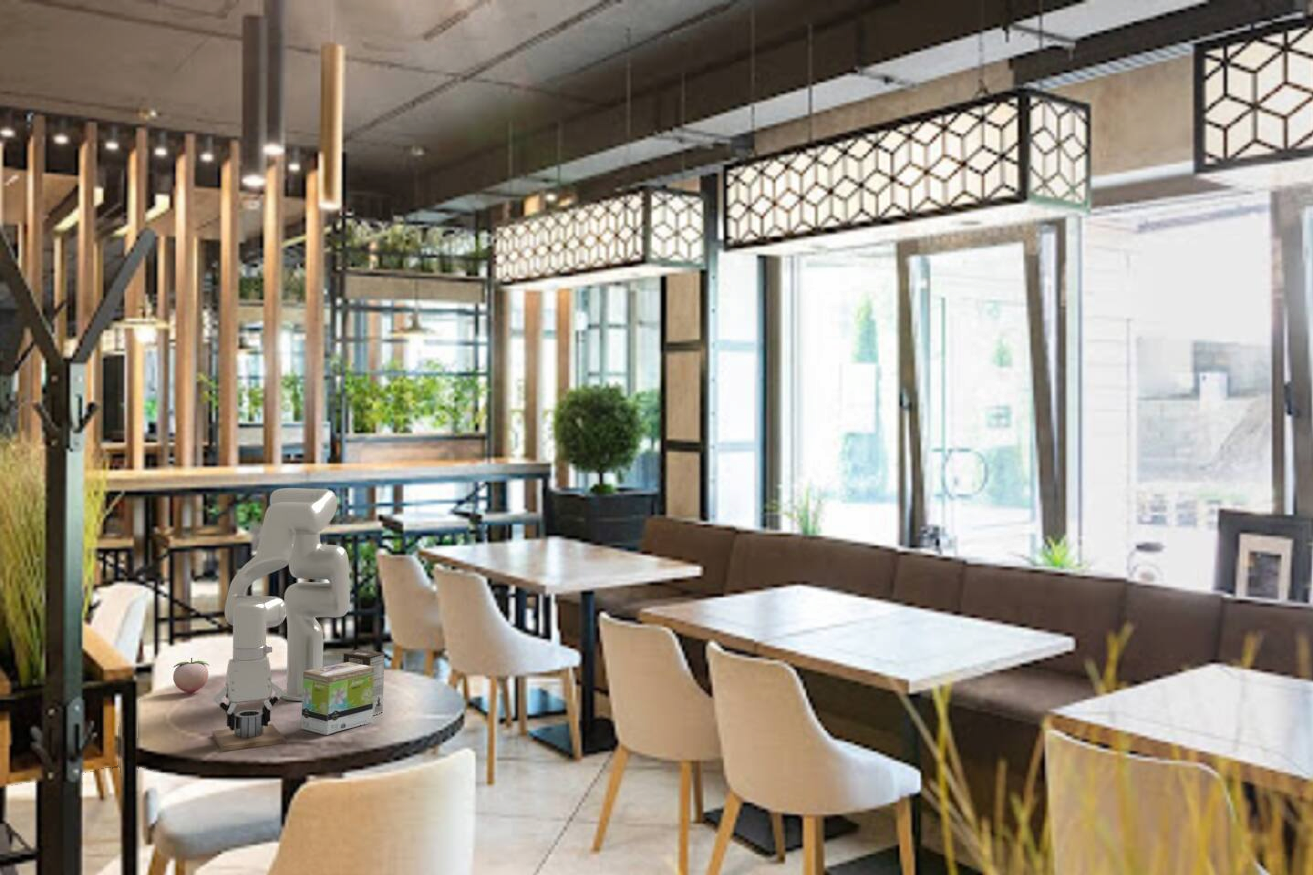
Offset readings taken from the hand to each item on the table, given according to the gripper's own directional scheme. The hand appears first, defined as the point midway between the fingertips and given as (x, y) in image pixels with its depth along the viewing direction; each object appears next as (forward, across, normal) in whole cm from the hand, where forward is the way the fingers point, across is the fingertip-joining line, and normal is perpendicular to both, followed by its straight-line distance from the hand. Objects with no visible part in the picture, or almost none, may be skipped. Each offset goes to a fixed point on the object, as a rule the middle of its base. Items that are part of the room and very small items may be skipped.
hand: (248, 726), depth 268 cm
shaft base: (+3, 0, 0) cm, 3 cm away
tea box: (+3, -22, -2) cm, 22 cm away
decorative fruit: (+3, +5, -52) cm, 52 cm away
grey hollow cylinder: (+2, 0, 0) cm, 2 cm away
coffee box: (+3, -31, -11) cm, 33 cm away
